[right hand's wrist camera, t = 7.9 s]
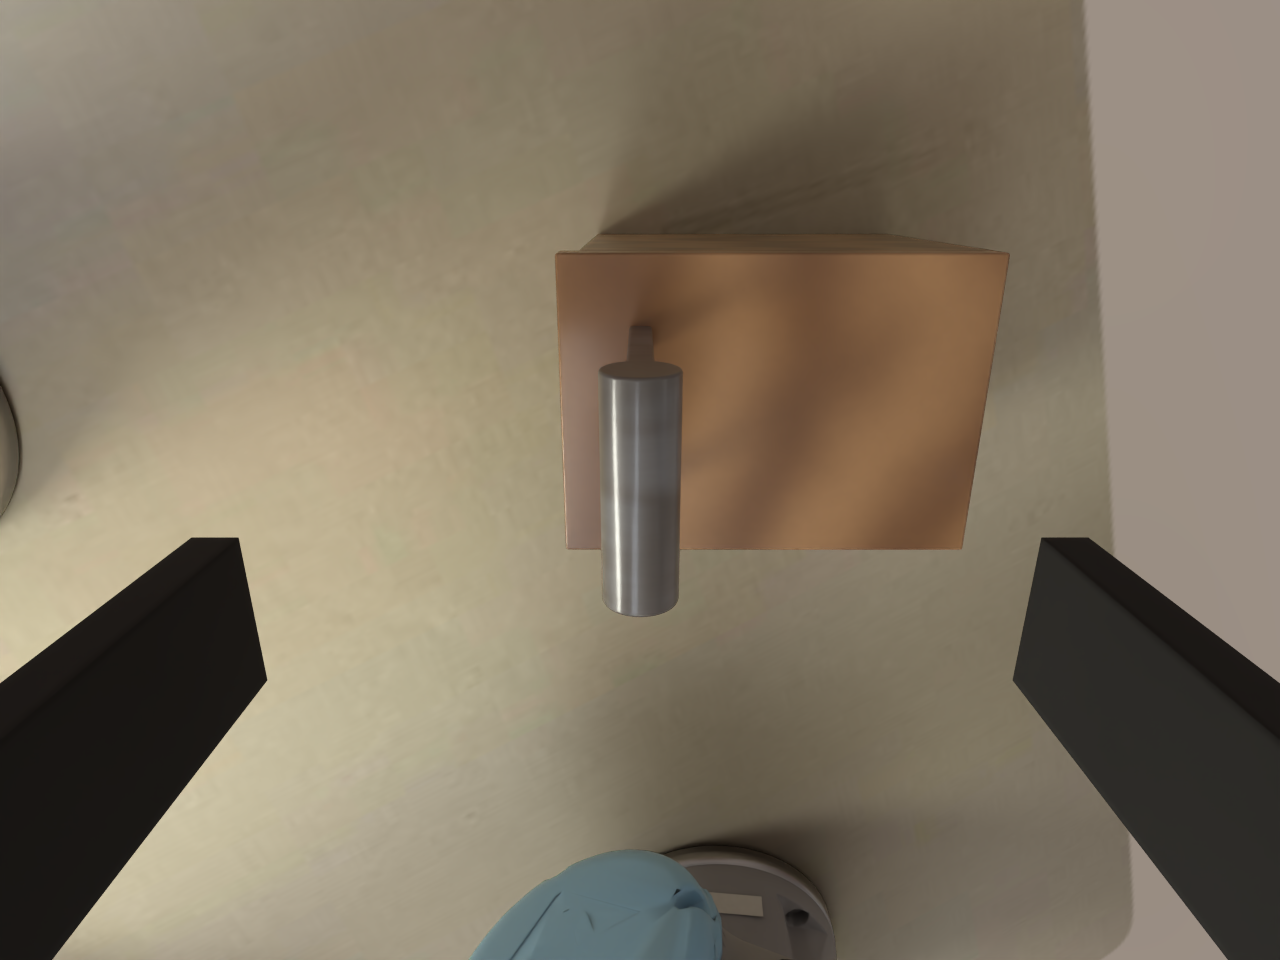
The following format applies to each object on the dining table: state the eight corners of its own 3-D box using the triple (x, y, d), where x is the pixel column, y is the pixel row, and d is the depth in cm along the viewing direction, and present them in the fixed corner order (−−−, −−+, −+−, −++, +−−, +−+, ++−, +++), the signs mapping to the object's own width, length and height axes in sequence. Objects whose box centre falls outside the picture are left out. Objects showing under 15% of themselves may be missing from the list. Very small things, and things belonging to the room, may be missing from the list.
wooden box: (601, 443, 37) (585, 537, 27) (597, 234, 34) (578, 250, 24) (865, 443, 37) (950, 537, 27) (888, 234, 34) (995, 250, 24)
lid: (568, 538, 27) (536, 689, 19) (558, 250, 24) (513, 279, 15) (951, 538, 27) (1089, 689, 19) (996, 250, 24) (1189, 280, 15)
